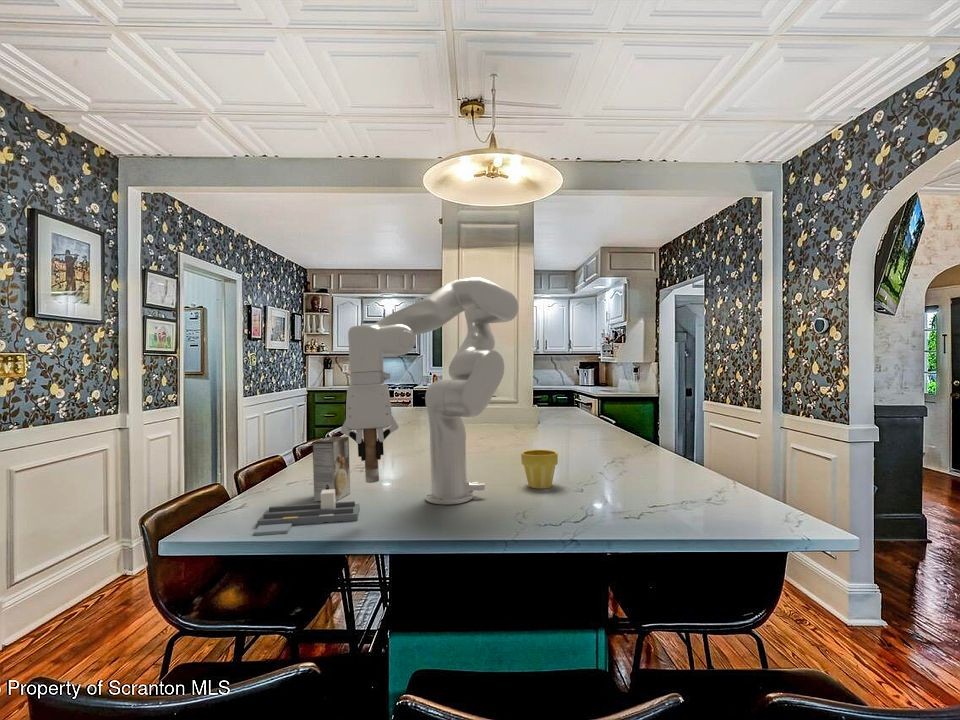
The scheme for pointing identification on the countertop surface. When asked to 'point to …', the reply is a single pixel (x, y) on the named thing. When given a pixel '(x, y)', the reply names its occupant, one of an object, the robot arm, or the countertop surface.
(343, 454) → the coffee box
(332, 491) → the switch tab
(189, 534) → the countertop surface
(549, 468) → the plant pot
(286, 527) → the tool mat
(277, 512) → the switch panel
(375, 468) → the brown rod
